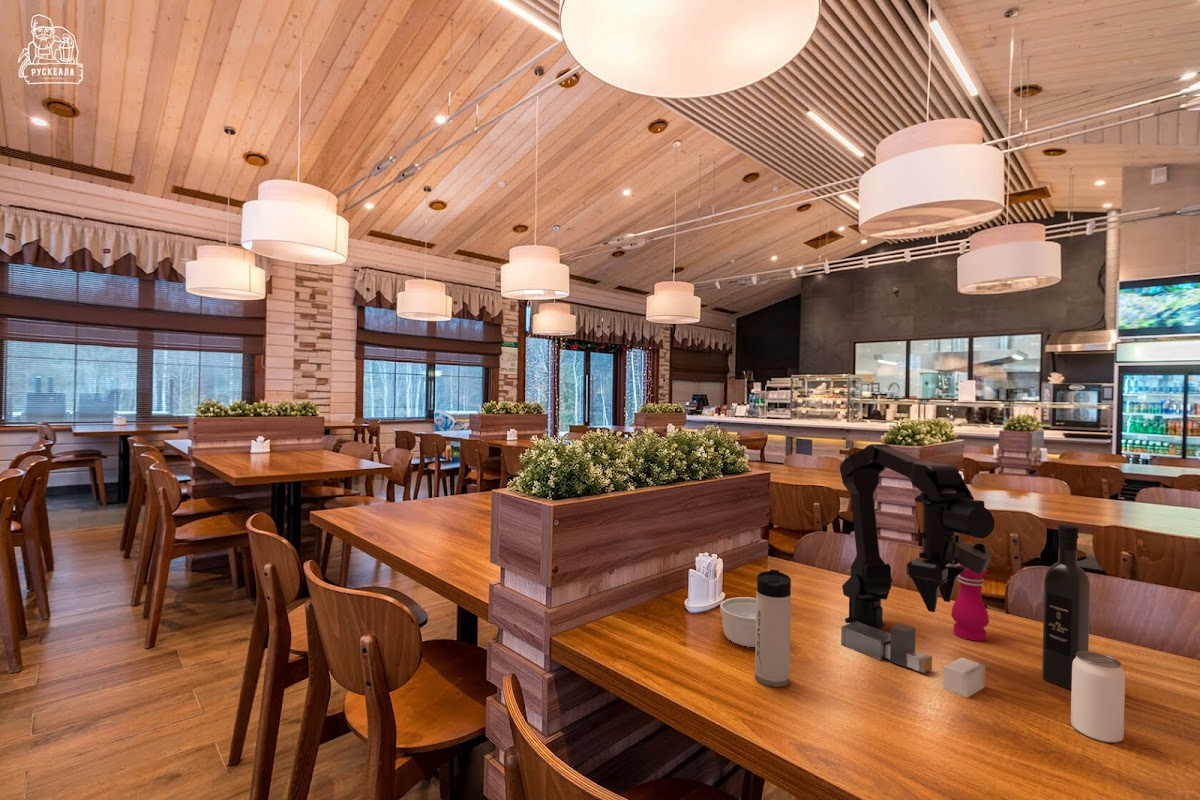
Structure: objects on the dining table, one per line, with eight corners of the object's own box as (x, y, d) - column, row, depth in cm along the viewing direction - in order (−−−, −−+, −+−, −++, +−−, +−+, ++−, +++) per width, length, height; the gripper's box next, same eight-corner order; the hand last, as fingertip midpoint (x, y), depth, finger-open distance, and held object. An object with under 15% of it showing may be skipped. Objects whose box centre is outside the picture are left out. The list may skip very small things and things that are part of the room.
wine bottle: (1074, 692, 105) (1078, 530, 105) (1039, 678, 110) (1043, 524, 110) (1090, 685, 108) (1093, 527, 108) (1054, 672, 113) (1058, 521, 113)
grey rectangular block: (943, 688, 106) (943, 666, 106) (961, 678, 110) (961, 657, 110) (966, 697, 103) (967, 675, 103) (984, 687, 107) (984, 665, 107)
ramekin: (714, 644, 123) (715, 612, 123) (725, 622, 136) (725, 593, 136) (778, 656, 118) (779, 622, 118) (783, 632, 131) (783, 601, 131)
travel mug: (789, 674, 111) (791, 571, 110) (789, 690, 104) (791, 581, 104) (756, 668, 113) (758, 567, 112) (753, 684, 106) (755, 577, 106)
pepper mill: (977, 630, 133) (979, 544, 133) (995, 643, 126) (997, 553, 126) (944, 628, 134) (946, 543, 134) (961, 641, 127) (963, 551, 127)
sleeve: (841, 644, 124) (841, 626, 124) (855, 638, 127) (856, 621, 127) (880, 660, 117) (880, 641, 117) (895, 654, 120) (895, 635, 120)
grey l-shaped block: (848, 644, 124) (848, 612, 124) (858, 640, 126) (858, 608, 126) (923, 674, 111) (923, 638, 111) (932, 669, 113) (933, 634, 113)
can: (1060, 721, 96) (1062, 650, 96) (1095, 720, 96) (1097, 649, 96) (1097, 745, 89) (1098, 668, 89) (1135, 743, 90) (1136, 667, 90)
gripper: (972, 541, 102) (972, 629, 101) (998, 528, 114) (999, 606, 114) (905, 531, 110) (905, 613, 110) (937, 520, 123) (937, 593, 122)
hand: (939, 606), depth 114 cm, fingers open, 9 cm apart
